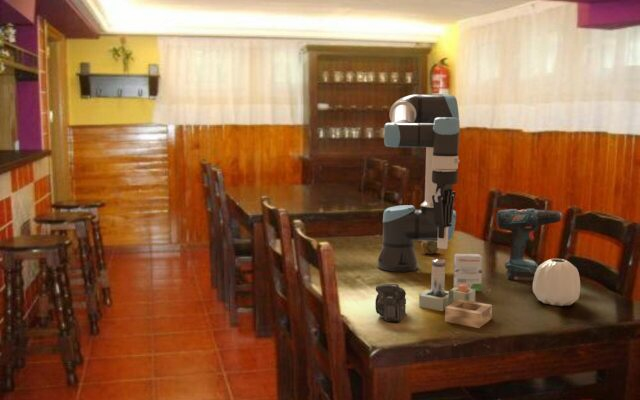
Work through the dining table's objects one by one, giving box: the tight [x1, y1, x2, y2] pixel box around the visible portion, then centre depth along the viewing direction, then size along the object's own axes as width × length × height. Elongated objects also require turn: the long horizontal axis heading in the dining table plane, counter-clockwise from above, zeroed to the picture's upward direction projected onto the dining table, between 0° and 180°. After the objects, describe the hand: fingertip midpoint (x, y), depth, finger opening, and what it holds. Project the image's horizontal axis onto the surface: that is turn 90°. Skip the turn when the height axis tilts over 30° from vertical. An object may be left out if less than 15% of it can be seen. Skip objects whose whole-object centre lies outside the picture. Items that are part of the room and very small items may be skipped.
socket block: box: [418, 286, 477, 312], centre depth 192 cm, size 16×10×6 cm, turn 56°
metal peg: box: [430, 258, 446, 298], centre depth 193 cm, size 4×4×14 cm
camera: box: [374, 283, 407, 323], centre depth 183 cm, size 13×10×10 cm
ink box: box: [453, 253, 483, 292], centre depth 211 cm, size 9×5×12 cm, turn 87°
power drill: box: [496, 208, 566, 282], centre depth 226 cm, size 9×23×25 cm, turn 78°
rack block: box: [444, 299, 493, 329], centre depth 180 cm, size 10×10×4 cm
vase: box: [532, 258, 581, 307], centre depth 197 cm, size 14×14×13 cm
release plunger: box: [458, 284, 468, 293], centre depth 189 cm, size 3×3×5 cm
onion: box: [420, 241, 440, 255], centre depth 266 cm, size 8×8×8 cm
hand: (442, 248), depth 192 cm, fingers closed
